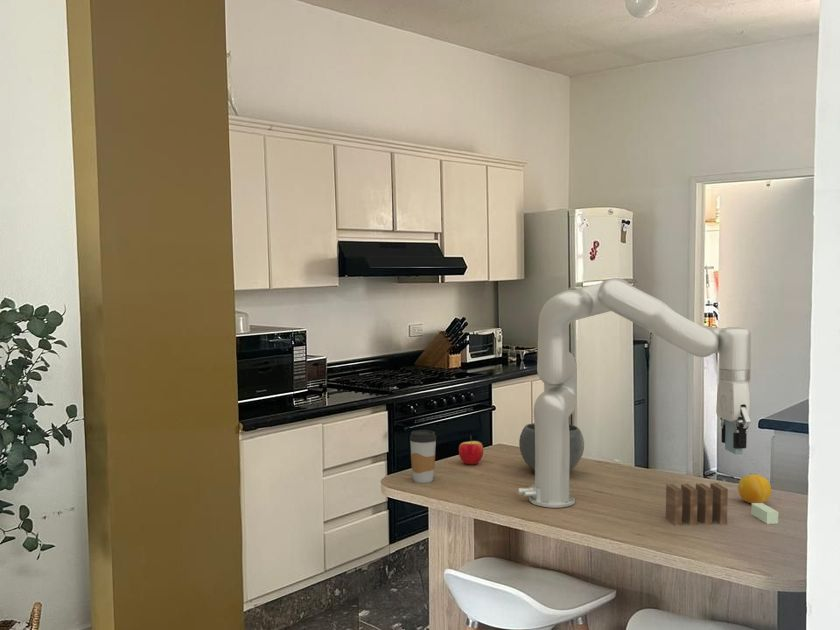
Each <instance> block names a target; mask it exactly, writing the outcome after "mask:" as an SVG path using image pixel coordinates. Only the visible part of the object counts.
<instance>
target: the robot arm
mask: <svg viewBox="0 0 840 630" xmlns="http://www.w3.org/2000/svg"><path fill="white" fill-rule="evenodd" d="M609 312H613V313H614V314H616V315H618V316H620V317H622V318H624V319H626V320H628V321H630V322H632V323H633V324H635V325H637V326H639V327H641V328H643V329H645V330H646V331H648V332H649V333H651V334H653V335H655V336H658V337H659V338H661V339H662V340H664V341H666V342H668V343H670V344H671V345H673V346H675V347H677V348H679V349H681V350H682V351H685V352H686V353H688V354H691V355H692V356H695V357H698V358H707V357H710V356H711V355H712V354H718V386H717V393H716V409H715V411H716V412H715V413H716V416H717V417H719V420H720V421H721V422H720V427H721V443H723V444H725V421H726V420H728V421H730V422H734V428H735V433H733V448H735V449H742V448H743V449H747V438H748V437H747V435H748V432H749V431H748V429H749V426H750V424H751V419H750V418H751V392H750V384H749V383H751V363H752V361H751V359H752V358H751V357H752V356H751V353H752V352H751V350H752V347H751V345H752V336H751V335H752V334H751V331H750V329H748V328H746V327H738V326H737V327H735V326H734V327H733V326H732V327H731V326H730V327H729V326H728V327H717V326H709V325H700V324H698V323H696V322H694V321H692V320H690V319H689V318H687V317H685V316H682V315H681V314H679V313H678V312H676V311H675V310H673V309H672V308H671V307H670V306H669V305H668V304H667V303H665V302H664V301H662V300H661V299H659V298H657V297H655V296H652V294H651V295H650V294H648V293H647V292H645V291H642V289H638V288H637V287H635V286H633V285H632V284H630V283H629V282H628V281H627V280H625V279H623V278H618V277H616V278H615V277H614V278H613V277H612V278H609V279H606V280H605V281H603V282H600V283H596V284H592V285H588V286H585V287H581V288H580V287H579V288H576V289H568V290H564V291H562V292H559V293H557V294H555V295H554V296H552V297H551V298H549V299H548V300H547V301H546V303H544V305H543V306H542V308H541V310H540V312H539V316H538V317H539V318H538V325H537V326H538V329H537V330H538V331H537V332H538V333H537V334H538V336H537V337H538V338H537V360H536V361H537V365H536V368H537V375H538V378H539V379H540V381H542V383H543V392H541V393H539V395H538V397H537V398H536V400H535V402H534V405H533V420H534V424H535V470H534V483H532V484H531V485H532V486H529V487H518V488H517V493H518V495H520V496H521V495H523V496H524V497H529V498H528V500H529V502H530V504H531V503H532V504H533V505H535V506H537V507H543V508H552V509H553V508H554V509H555V508H556V509H558V508H567V507H571V506H573V505H574V504H575V502H576V500H575V499H576V498H575V497H574V496H573V495H571V494H570V471H569V462H570V435H569V424H570V423H569V419H570V416H571V415H572V414H573V413H574V412H575V409H576V405H577V398H578V397H577V394H578V393H577V391H578V390H577V386H578V385H577V384H578V383H577V381H578V380H577V379H578V377H577V376H578V369H577V362H576V359H575V357H574V355H573V354H572V353H571V352H570V349H569V348H570V347H569V342H570V333H569V327H570V326H569V325H570V324H571V323H572V322H573V321H577V320H582V319H585V318H589V317H594V316H597V315H600V314H605V313H609ZM738 418H741V419H743V420H737V419H738ZM738 423H742V424H740V425H739V427H738ZM743 449H742V450H743Z"/></svg>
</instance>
